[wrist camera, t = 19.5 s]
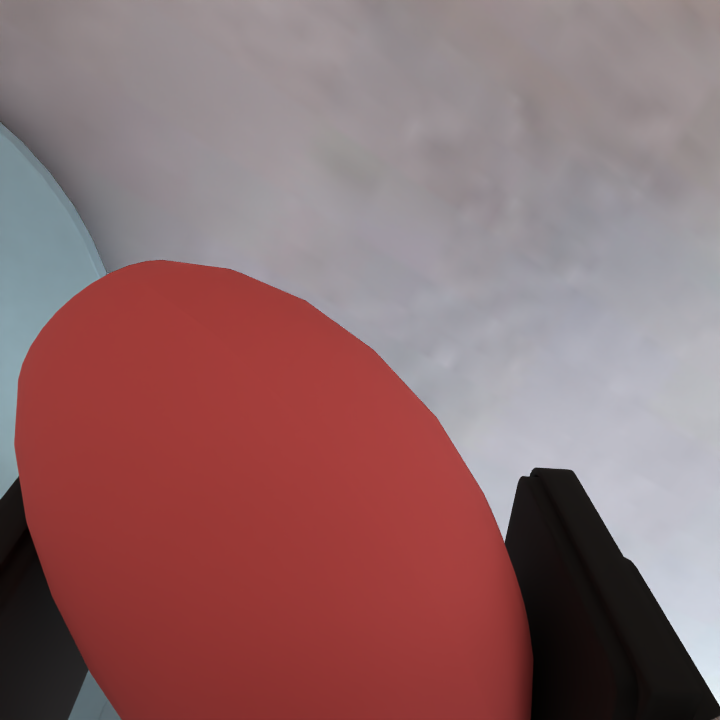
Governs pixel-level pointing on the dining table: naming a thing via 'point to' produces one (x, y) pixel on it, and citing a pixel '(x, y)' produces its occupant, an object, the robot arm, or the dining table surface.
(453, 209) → the dining table surface
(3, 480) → the lid
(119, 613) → the stress ball
